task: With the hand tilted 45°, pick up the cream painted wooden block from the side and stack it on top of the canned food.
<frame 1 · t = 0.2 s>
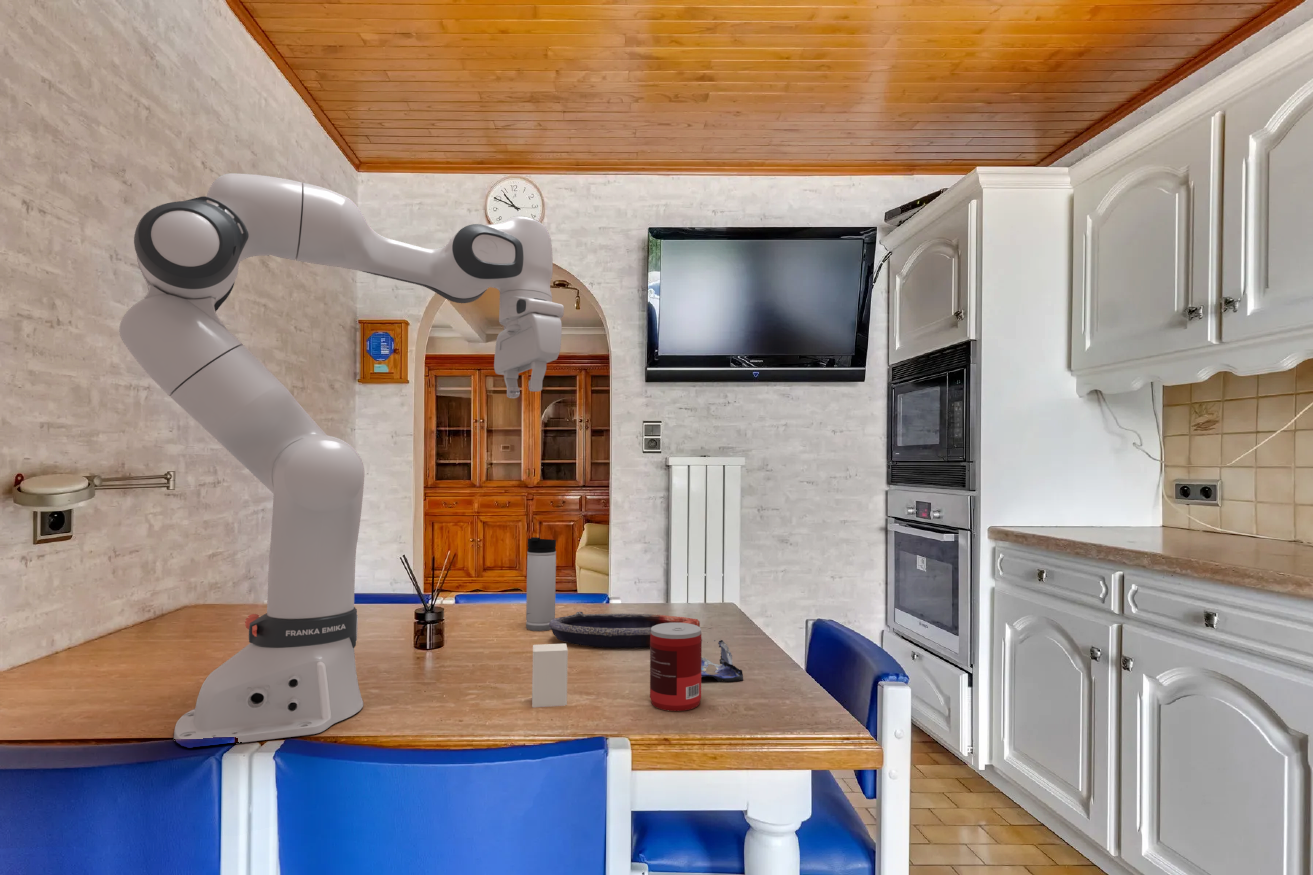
hand: (523, 394, 114), 47 cm above the table, tool pointing down, fingers open, 8 cm apart
canned food: (675, 703, 100), on the table
dish: (624, 643, 137), on the table
travel mug: (540, 628, 147), on the table
block: (549, 701, 100), on the table
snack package: (712, 676, 115), on the table
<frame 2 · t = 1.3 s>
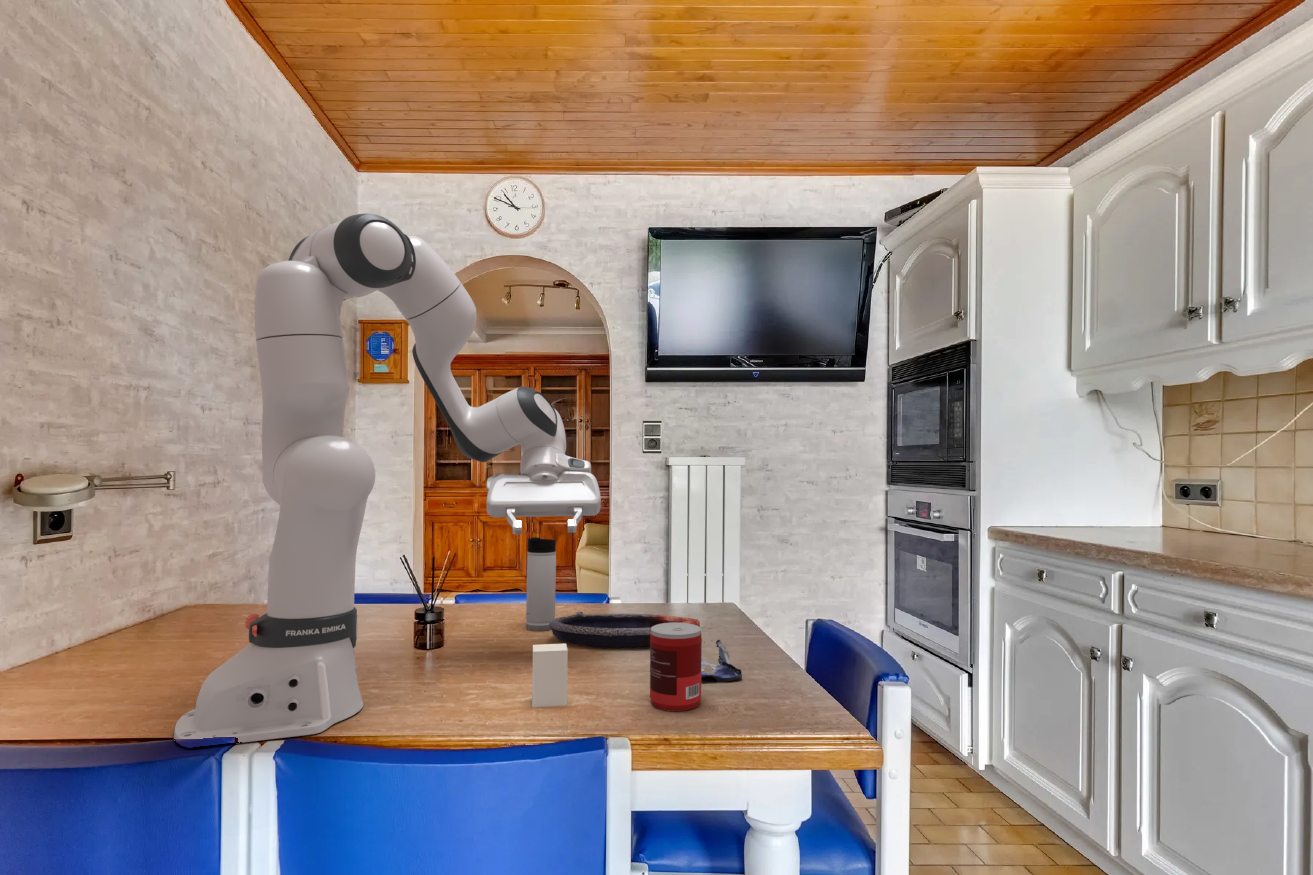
hand: (544, 531, 116), 24 cm above the table, tool tilted 45°, fingers open, 8 cm apart
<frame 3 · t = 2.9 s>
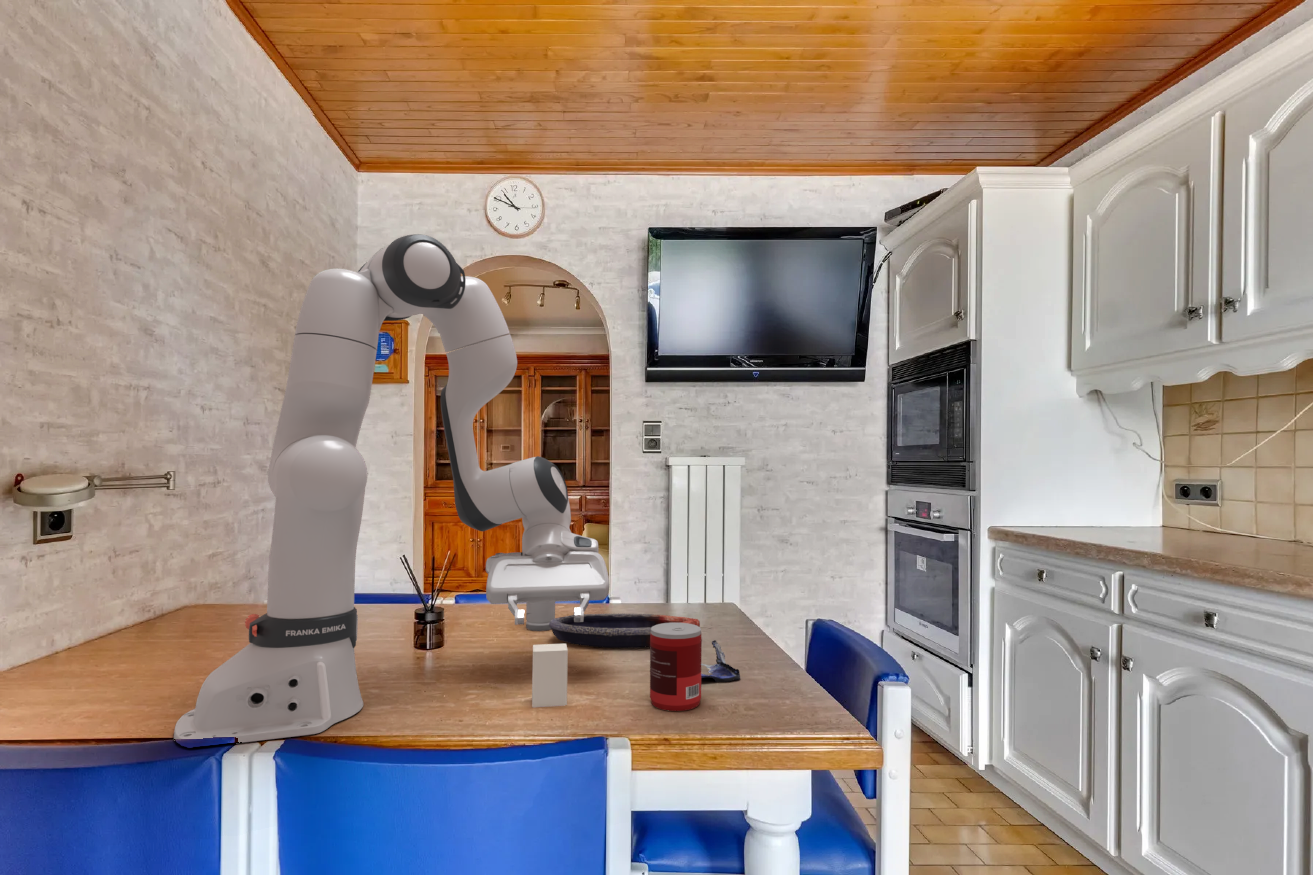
hand: (549, 621, 107), 10 cm above the table, tool tilted 45°, fingers open, 8 cm apart
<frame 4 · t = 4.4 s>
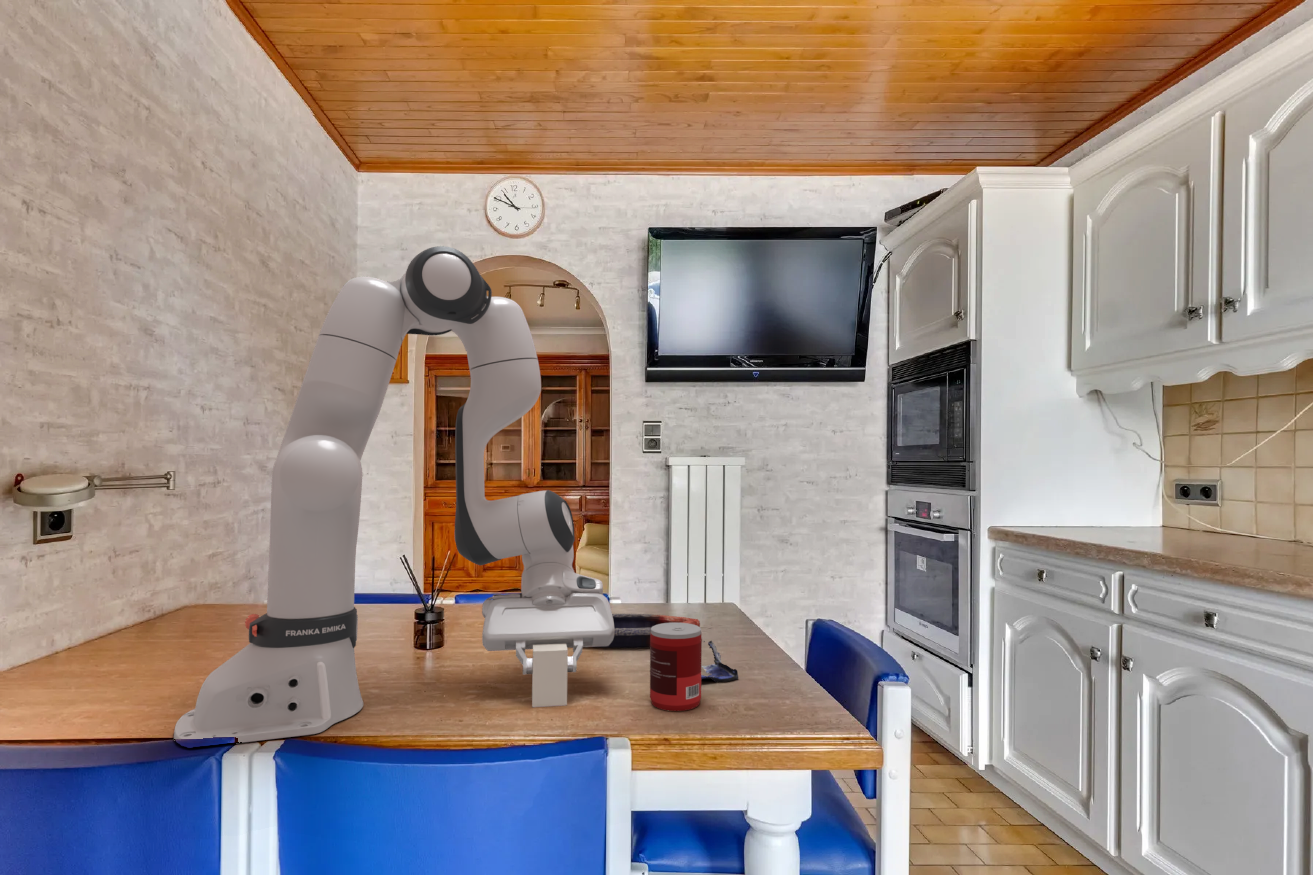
hand: (549, 671, 100), 5 cm above the table, tool tilted 45°, fingers closed on block, 5 cm apart
block: (549, 701, 100), on the table, touching gripper
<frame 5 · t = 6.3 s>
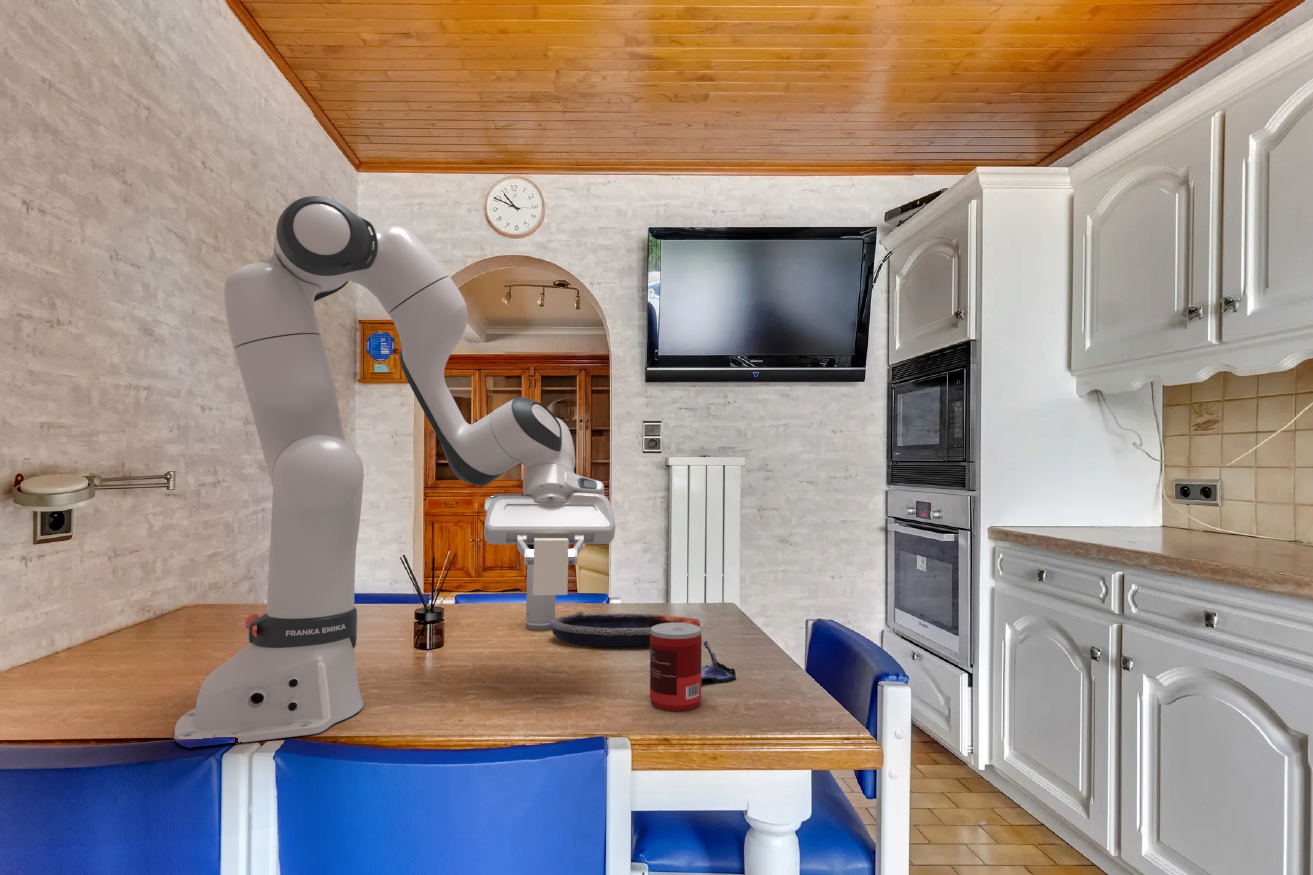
hand: (550, 562, 101), 21 cm above the table, tool tilted 45°, fingers closed on block, 5 cm apart
block: (549, 592, 101), point 16 cm above the table, touching gripper
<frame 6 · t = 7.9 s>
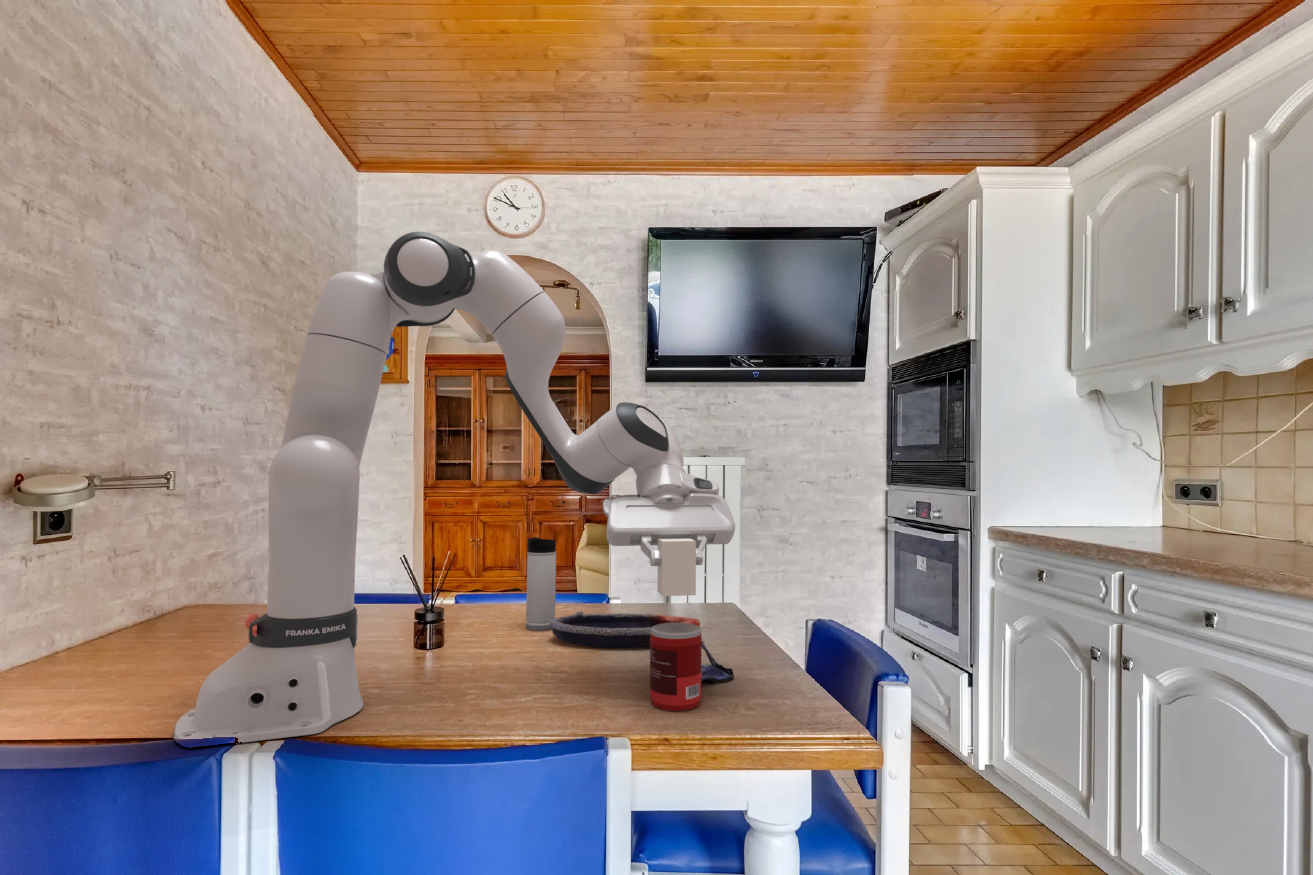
hand: (677, 563, 101), 21 cm above the table, tool tilted 45°, fingers closed on block, 5 cm apart
block: (676, 593, 101), point 16 cm above the table, touching gripper
when the fingers open (17 cm above the table, at t = 8.8 s): block drops 2 cm, resting on canned food.
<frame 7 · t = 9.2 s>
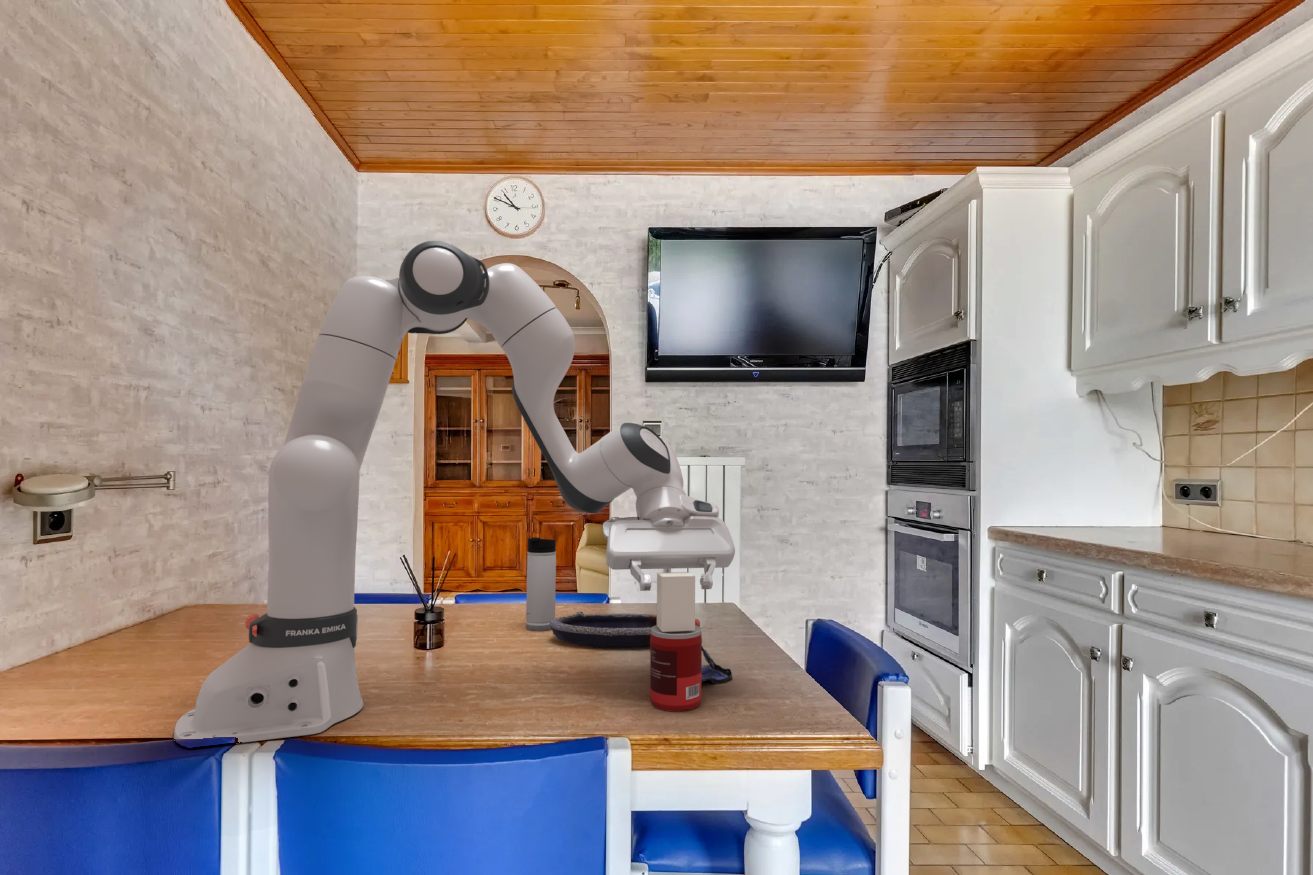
hand: (677, 587, 100), 17 cm above the table, tool tilted 45°, fingers open, 8 cm apart
canned food: (675, 704, 100), on the table, touching block
block: (675, 628, 101), point 11 cm above the table, touching canned food
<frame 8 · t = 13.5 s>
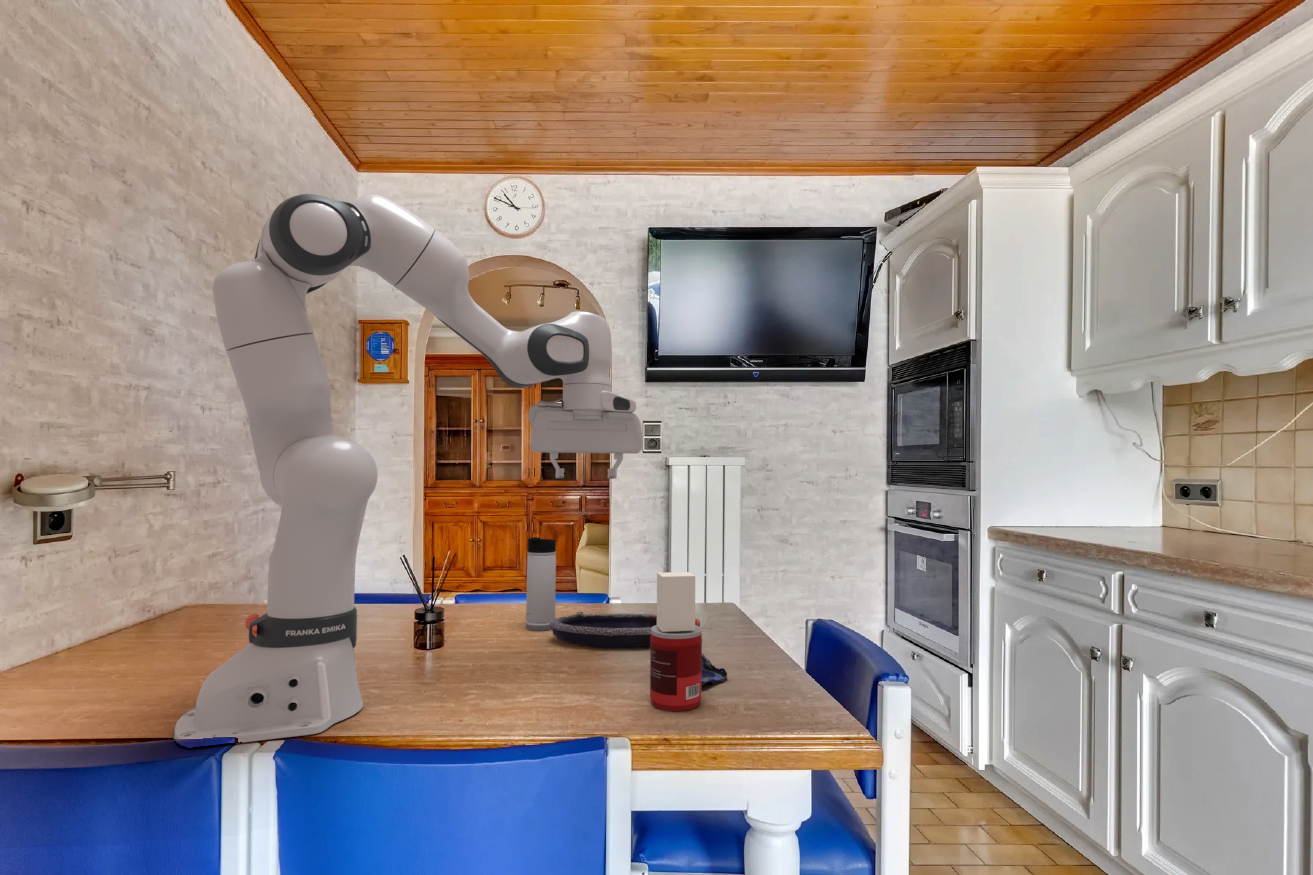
hand: (586, 478, 121), 33 cm above the table, tool pointing down, fingers open, 8 cm apart
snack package: (690, 682, 112), on the table
everything else where it was.
at the end: block inside the target area on the canned food (0.1 cm from its centre), point 11.2 cm above the canned food's base; block tilted 0°; the gripper is holding nothing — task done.
